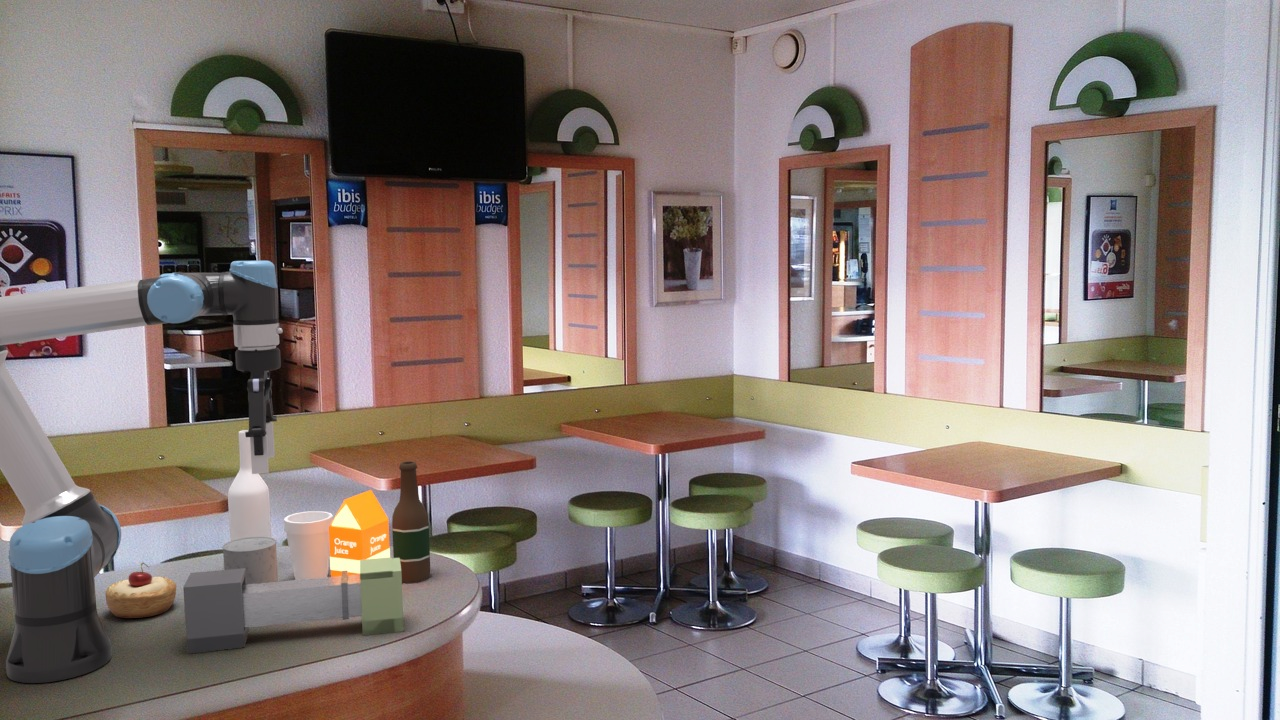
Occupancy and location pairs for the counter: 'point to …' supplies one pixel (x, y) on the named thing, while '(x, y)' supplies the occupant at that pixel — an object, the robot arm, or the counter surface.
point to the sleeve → (214, 610)
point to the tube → (301, 600)
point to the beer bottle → (411, 528)
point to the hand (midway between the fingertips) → (263, 465)
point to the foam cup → (309, 543)
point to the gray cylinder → (252, 558)
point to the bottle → (248, 499)
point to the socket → (381, 595)
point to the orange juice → (358, 534)
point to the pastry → (140, 595)
